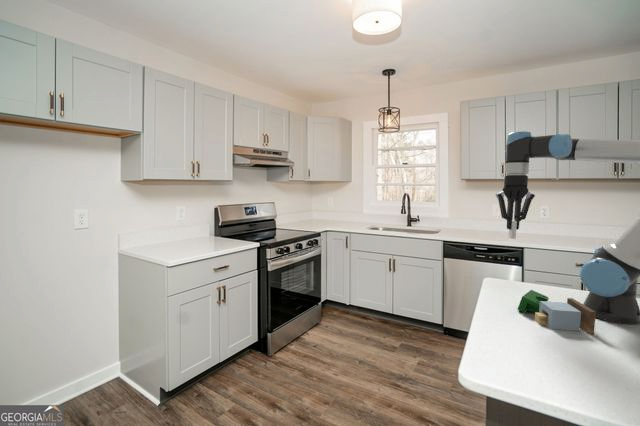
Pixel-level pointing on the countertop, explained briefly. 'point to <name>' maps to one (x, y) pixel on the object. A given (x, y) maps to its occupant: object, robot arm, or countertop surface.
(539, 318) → the tan rectangular bar
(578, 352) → the countertop surface
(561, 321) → the block
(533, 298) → the clamp
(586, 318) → the wall
